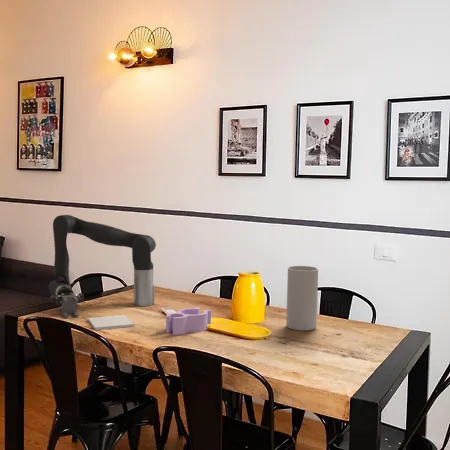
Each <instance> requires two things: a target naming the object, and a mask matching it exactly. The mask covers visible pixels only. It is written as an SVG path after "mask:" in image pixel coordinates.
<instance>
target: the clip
mask: <svg viewBox="0 0 450 450" xmlns="http://www.w3.org/2000/svg"><path fill="white" fill-rule="evenodd" d="M200 310H201V307H199V306H196V307H187V308H181V309H178V310H177V311H176V312H171V313H167V314H166V315H165V333H167V334H169V333H170V332H172V336H181V335H185V334H188V333H198V332H199V333H200V332H203V331H206V330H207V329H208V327H207V324H211V325H212V310H211V309H203V310H202V312H201V311H200ZM206 327H207V328H206Z"/></svg>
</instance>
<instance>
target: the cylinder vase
mask: <svg viewBox="0 0 450 450" xmlns="http://www.w3.org/2000/svg"><path fill="white" fill-rule="evenodd" d="M318 284H319V268H317V267H316V266H310V265H309V266H307V265H291V266H288V267H287V285H286V286H287V291H286V292H287V294H286V323H285V324H286V327H287V328H288V329H290V330H293V331H294V330H295V331H299V332H300V331H301V332H302V331H303V332H308V331H313V330H315V329H316V328H317V322H318V321H317V320H318V319H317V318H318V317H317V316H318V289H319V288H318V287H319V286H318Z"/></svg>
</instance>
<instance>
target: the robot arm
mask: <svg viewBox="0 0 450 450" xmlns="http://www.w3.org/2000/svg"><path fill="white" fill-rule="evenodd" d="M52 221H53V222H52V230H53V231H52V233H53V241H54V243H53V244H54V265H53V274H54V275H55V276H58V277H62V278H63V280H62V279H61V280H60V279H59V280H58V279H55V280H51V281H50V283H49V284H48V291H49V293H50V302H51V303H52V304H54V303H55V304H58V305H61V304H62V297H61V296H65V295H76V297H77V298H78V302H77V304H80V303H81V302H83V301H85V295H84V294H83V293H82V292H79V293H78V294H77V293H74V291H73V289H72V284H71V280H70V274H69V270H70V255H69V250H68V248H67V247H68V245H67V239H68V238H67V237H68V234H75V235H80V236H83V237H86V238H88V239H90V240H91V241H93V242H95V243H98V244H102V245H106V246H112V247H113V246H114V247H126V248H130V249H131V255H132V256H131V259H132V265H133V305H135V306H137V307H147V306H152V305H155V284H154V262H152V254H151V253H153V252H154V251H155V249H156V248H157V247H156V246H157V244H156V243H157V242H156V240H155V239H154V238H153V236H150V235H147V234H141V233H140V234H139V233H135V232H131V231H126V230H123V229H121V228H117V227H113V226H111V225H107V224H103V223H98V222H93V221H86V220H84V219H81V218H78V217H75V216H73V215H71V214H60V215H58V216H56V217H55V218H54V219H53V220H52Z"/></svg>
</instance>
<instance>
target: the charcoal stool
mask: <svg viewBox="0 0 450 450" xmlns="http://www.w3.org/2000/svg"><path fill="white" fill-rule="evenodd" d="M61 297H62V303H61V315H62V316H63V318H64V319H69V316H71V315H72V316H74V318H76V319H77V318H79V314H78V308H77V306H78V305H77V304H78V298H77V297H76V295H65V296H61Z"/></svg>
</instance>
